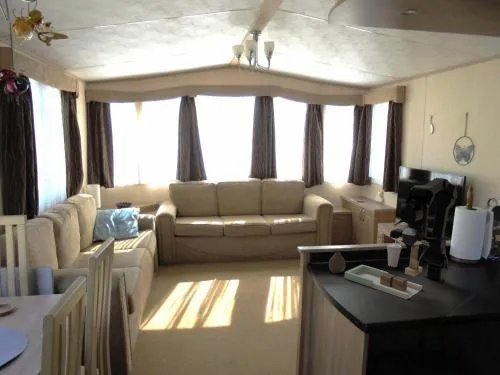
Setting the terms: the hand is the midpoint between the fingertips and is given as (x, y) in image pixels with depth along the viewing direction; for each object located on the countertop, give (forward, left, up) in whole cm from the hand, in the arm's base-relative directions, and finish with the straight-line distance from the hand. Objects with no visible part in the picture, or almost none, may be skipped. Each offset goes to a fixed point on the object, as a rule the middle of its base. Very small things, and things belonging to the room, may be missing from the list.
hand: (414, 260), depth 138 cm
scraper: (0, 0, -5) cm, 5 cm away
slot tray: (+2, -11, -13) cm, 17 cm away
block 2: (+2, -4, -12) cm, 13 cm away
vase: (+4, -31, -14) cm, 34 cm away
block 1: (+2, -9, -12) cm, 15 cm away
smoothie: (-24, -19, -14) cm, 34 cm away
